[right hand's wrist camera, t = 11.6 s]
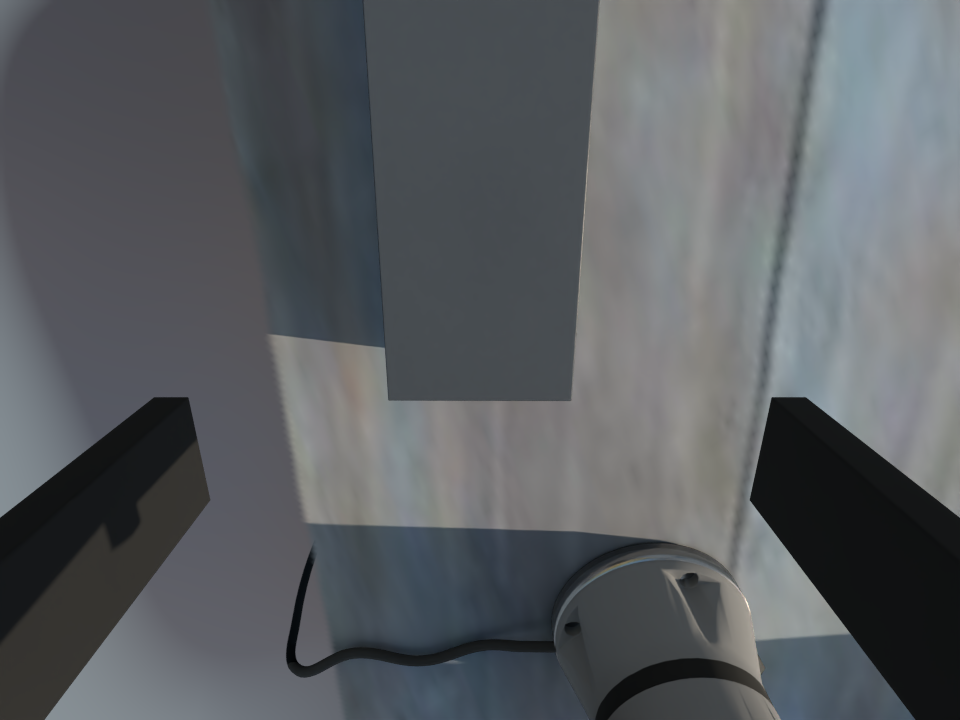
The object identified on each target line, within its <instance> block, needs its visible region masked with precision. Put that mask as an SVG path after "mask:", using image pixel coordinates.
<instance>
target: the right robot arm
mask: <svg viewBox="0 0 960 720" xmlns="http://www.w3.org/2000/svg"><path fill="white" fill-rule="evenodd" d="M209 501H210V497H209V492H208V487H207V483H206V478H205V473H204V469H203V464H202V459H201V455H200V450H199V445H198V441H197V436H196V431H195V427H194V422H193V417H192V413H191V408H190V403H189V399H188V397H154V398H153V399H152V400H150V401H149V402H148V403H146V404H145V405H144V406H143V407H141V408H140V409H139V410H138V411H136V412H135V413H134V414H132V415H131V416H130V417H129V418H127V419H126V420H125V421H123V422H122V423H121V424H120V425H118V426H117V427H116V428H114V429H113V430H112V431H111V432H109V433H108V434H107V435H106V436H104V437H103V438H102V439H100V440H99V441H98V442H97V443H95V444H94V445H93V446H91V447H90V448H89V449H88V450H86V451H85V452H84V453H82V454H81V455H80V456H79V457H77V458H76V459H75V460H74V461H72V462H71V463H70V464H68V465H67V466H66V467H65V468H63V469H62V470H61V471H60V472H58V473H57V474H56V475H54V476H53V477H52V478H51V479H49V480H48V481H47V482H45V483H44V484H43V485H42V486H40V487H39V488H38V489H36V490H35V491H34V492H33V493H31V494H30V495H29V496H28V497H26V498H25V499H24V500H22V501H21V502H20V503H19V504H17V505H16V506H15V507H13V508H12V509H11V510H10V511H8V512H7V513H6V514H4V515H3V516H2V517H1V518H0V720H45V718H46V717H47V716H48V714H49V713H50V712H51V710H52V709H53V708H54V706H55V705H56V704H57V702H58V701H59V700H60V698H61V697H62V696H63V694H64V693H65V692H66V690H67V689H68V688H69V686H70V685H71V684H72V682H73V681H74V680H75V679H76V677H77V676H78V675H79V673H80V672H81V671H82V669H83V668H84V666H85V665H86V664H87V663H88V661H89V660H90V659H91V657H92V656H93V655H94V653H95V652H96V651H97V649H98V648H99V647H100V645H101V644H102V643H103V641H104V640H105V639H106V637H107V636H108V635H109V633H110V632H111V631H112V629H113V628H114V627H115V626H116V624H117V623H118V622H119V620H120V619H121V618H122V616H123V615H124V614H125V612H126V611H127V610H128V608H129V607H130V606H131V604H132V603H133V602H134V600H135V599H136V598H137V596H138V595H139V594H140V592H141V591H142V590H143V588H144V587H145V586H146V584H147V583H148V582H149V580H150V579H151V578H152V577H153V575H154V574H155V573H156V571H157V570H158V569H159V567H160V566H161V564H162V563H163V562H164V561H165V559H166V558H167V557H168V555H169V554H170V553H171V551H172V550H173V549H174V547H175V546H176V545H177V543H178V542H179V541H180V539H181V538H182V537H183V535H184V534H185V533H186V531H187V530H188V529H189V528H190V526H191V525H192V524H193V522H194V521H195V520H196V518H197V517H198V516H199V514H200V513H201V512H202V510H203V509H204V508H205V506H206V505H207V504H208V502H209ZM750 501H751V502H752V504H753V505H754V506H755V508H756V509H757V510H758V512H759V513H760V514H761V516H762V517H763V518H764V520H765V521H766V522H767V524H768V525H769V526H770V528H771V529H772V530H773V531H774V533H775V534H776V535H777V537H778V538H779V539H780V541H781V542H782V543H783V545H784V546H785V547H786V549H787V550H788V551H789V553H790V554H791V555H792V557H793V558H794V559H795V561H796V562H797V563H798V565H799V566H800V567H801V569H802V570H803V571H804V573H805V574H806V575H807V577H808V578H809V579H810V581H811V582H812V583H813V584H814V586H815V587H816V588H817V590H818V591H819V592H820V594H821V595H822V596H823V598H824V599H825V600H826V602H827V603H828V604H829V606H830V607H831V608H832V610H833V611H834V612H835V614H836V615H837V616H838V618H839V619H840V620H841V622H842V623H843V624H844V626H845V627H846V628H847V630H848V631H849V632H850V633H851V635H852V636H853V637H854V639H855V640H856V641H857V643H858V644H859V645H860V647H861V648H862V649H863V651H864V652H865V653H866V655H867V656H868V657H869V659H870V660H871V661H872V663H873V664H874V665H875V667H876V668H877V669H878V671H879V672H880V673H881V675H882V676H883V677H884V679H885V680H886V681H887V683H888V684H889V685H890V686H891V688H892V689H893V690H894V692H895V693H896V694H897V696H898V697H899V698H900V700H901V701H902V702H903V704H904V705H905V706H906V708H907V709H908V710H909V712H910V713H911V714H912V716H913V717H914V718H915V720H960V518H959V517H958V516H957V515H956V514H954V513H953V512H952V511H950V510H949V509H948V508H947V507H945V506H944V505H943V504H941V503H940V502H939V501H938V500H936V499H935V498H934V497H933V496H931V495H930V494H929V493H927V492H926V491H925V490H924V489H922V488H921V487H920V486H918V485H917V484H916V483H915V482H913V481H912V480H911V479H909V478H908V477H907V476H906V475H904V474H903V473H902V472H901V471H899V470H898V469H897V468H895V467H894V466H893V465H892V464H890V463H889V462H888V461H886V460H885V459H884V458H883V457H881V456H880V455H879V454H878V453H876V452H875V451H874V450H872V449H871V448H870V447H869V446H867V445H866V444H865V443H863V442H862V441H861V440H860V439H858V438H857V437H856V436H854V435H853V434H852V433H851V432H849V431H848V430H847V429H846V428H844V427H843V426H842V425H840V424H839V423H838V422H837V421H835V420H834V419H833V418H831V417H830V416H829V415H828V414H826V413H825V412H824V411H823V410H821V409H820V408H819V407H817V406H816V405H815V404H814V403H812V402H811V401H810V400H808V399H807V398H806V397H772V399H771V403H770V408H769V413H768V417H767V422H766V427H765V431H764V436H763V441H762V445H761V450H760V455H759V459H758V464H757V469H756V473H755V478H754V483H753V487H752V492H751V497H750ZM314 562H315V557H314V552H313V547H312V548H311V550H310V553H309V556H308V558H307V561H306V564H305V567H304V570H303V574H302V577H301V581H300V584H299V588H298V592H297V596H296V601H295V606H294V611H293V617H292V622H291V627H290V632H289V636H288V641H287V648H286V662H287V665H288V668H289V669H290V670H291V672H293V673H294V674H295V675H297V676H299V677H311V676H314V675H317V674H319V673H321V672H323V671H325V670H326V669H328V668H330V667H332V666H334V665H336V664H338V663H340V662H342V661H345V660H349V659H354V658H368V659H376V660H381V661H385V662H390V663H394V664H399V665H406V666H429V665H435V664H439V663H443V662H447V661H450V660H452V659H455V658H458V657H461V656H464V655H467V654H470V653H474V652H479V651H486V650H502V651H514V652H556V656H557V659H558V662H559V664H560V666H561V668H562V669H563V671H564V673H565V675H566V677H567V679H568V680H569V682H570V684H571V686H572V688H573V690H574V691H575V693H576V695H577V697H578V699H579V701H580V702H581V704H582V706H583V708H584V710H585V712H586V713H587V715H588V717H589V719H590V720H781V719H780V717H779V715H778V713H777V712H776V710H775V708H774V706H773V705H772V703H771V701H770V699H769V697H768V695H767V693H766V691H765V689H764V687H763V685H762V680H761V674H762V673H763V671H764V670H765V667H764V665H763V663H762V661H761V659H760V658H759V656H758V654H757V649H756V643H755V636H754V630H753V624H752V618H751V612H750V609H749V606H748V603H747V601H746V599H745V597H744V595H743V594H742V592H741V590H740V589H739V587H738V585H737V583H736V582H735V580H734V578H733V577H732V575H731V574H730V573H729V572H728V570H727V569H726V568H725V567H724V566H723V565H721V564H720V563H719V562H718V561H716V560H715V559H713V558H712V557H710V556H709V555H707V554H705V553H702V552H700V551H698V550H695V549H692V548H689V547H685V546H681V545H675V544H666V543H649V544H639V545H633V546H629V547H624V548H621V549H618V550H614V551H612V552H609V553H607V554H605V555H603V556H601V557H598V558H597V559H595V560H593V561H592V562H590V563H588V564H587V565H586V566H584V567H583V568H581V569H580V570H579V571H578V572H577V573H576V574H575V575H574V576H573V577H572V578H571V579H570V580H569V581H568V582H567V583H566V585H565V586H564V587H563V589H562V590H561V592H560V594H559V596H558V598H557V600H556V602H555V605H554V609H553V613H552V633H553V640H554V641H513V640H499V639H489V640H480V641H474V642H470V643H466V644H463V645H460V646H457V647H454V648H452V649H449V650H446V651H443V652H439V653H435V654H430V655H419V656H415V655H405V654H399V653H394V652H390V651H386V650H381V649H375V648H363V647H360V648H350V649H345V650H342V651H339V652H337V653H335V654H332V655H330V656H329V657H327V658H325V659H323V660H321V661H319V662H318V663H316V664H313V665H311V666H302V665H300V664H299V663H298V661H297V659H296V653H295V651H296V643H297V638H298V633H299V627H300V621H301V615H302V609H303V604H304V599H305V594H306V590H307V586H308V582H309V578H310V575H311V571H312V568H313V565H314Z"/></svg>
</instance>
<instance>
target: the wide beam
mask: <svg viewBox="0 0 960 720" xmlns="http://www.w3.org/2000/svg"><path fill="white" fill-rule="evenodd" d="M599 2H600V0H363V12H364V28H365V43H366V59H367V74H368V90H369V105H370V121H371V136H372V152H373V168H374V183H375V199H376V214H377V230H378V245H379V261H380V277H381V292H382V308H383V323H384V339H385V354H386V370H387V386H388V400H426V401H571V400H572V386H573V371H574V357H575V343H576V329H577V315H578V300H579V286H580V272H581V258H582V244H583V229H584V215H585V201H586V187H587V173H588V158H589V144H590V130H591V116H592V102H593V87H594V73H595V59H596V45H597V31H598V16H599Z"/></svg>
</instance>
